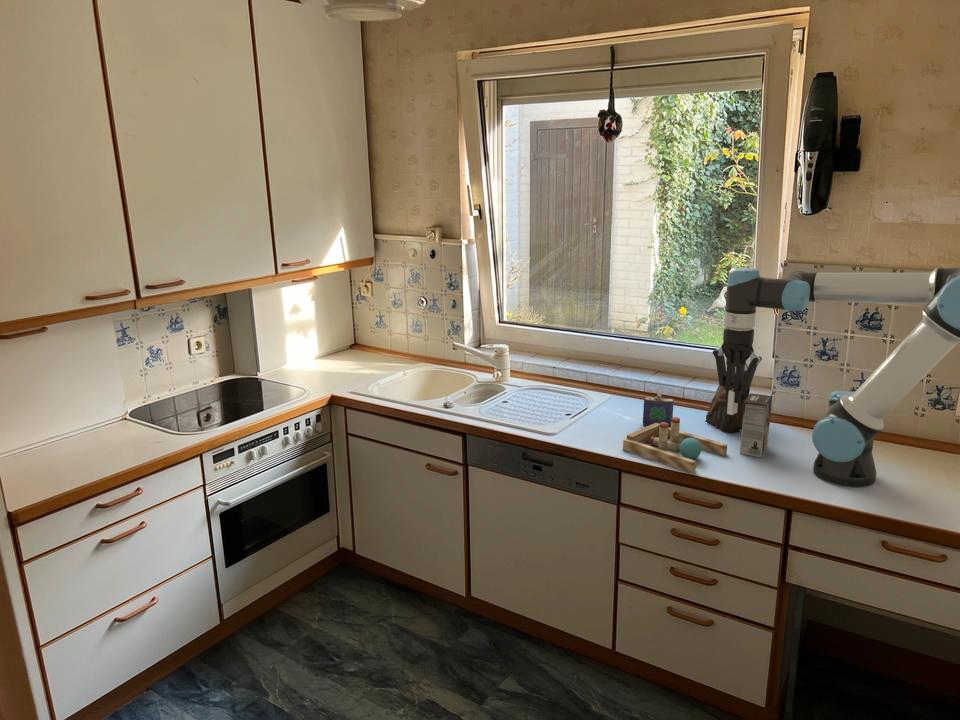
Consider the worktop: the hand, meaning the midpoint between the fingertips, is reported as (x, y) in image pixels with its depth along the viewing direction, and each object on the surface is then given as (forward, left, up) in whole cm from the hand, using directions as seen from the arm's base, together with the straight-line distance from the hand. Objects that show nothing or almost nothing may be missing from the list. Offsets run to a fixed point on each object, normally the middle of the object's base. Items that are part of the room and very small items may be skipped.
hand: (731, 413), depth 196 cm
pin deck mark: (+17, 0, -16) cm, 23 cm away
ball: (+11, +1, -13) cm, 17 cm away
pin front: (+16, -1, -15) cm, 22 cm away
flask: (+32, -14, -17) cm, 39 cm away
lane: (+16, 0, -16) cm, 23 cm away
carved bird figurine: (+17, -30, -17) cm, 39 cm away
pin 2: (+19, -3, -16) cm, 25 cm away
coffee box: (+1, -17, -17) cm, 24 cm away
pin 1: (+19, +3, -16) cm, 25 cm away
